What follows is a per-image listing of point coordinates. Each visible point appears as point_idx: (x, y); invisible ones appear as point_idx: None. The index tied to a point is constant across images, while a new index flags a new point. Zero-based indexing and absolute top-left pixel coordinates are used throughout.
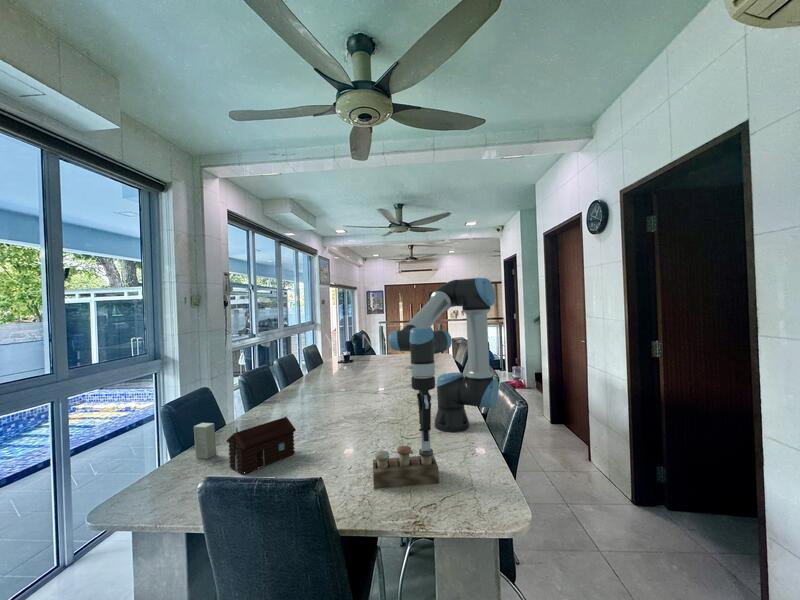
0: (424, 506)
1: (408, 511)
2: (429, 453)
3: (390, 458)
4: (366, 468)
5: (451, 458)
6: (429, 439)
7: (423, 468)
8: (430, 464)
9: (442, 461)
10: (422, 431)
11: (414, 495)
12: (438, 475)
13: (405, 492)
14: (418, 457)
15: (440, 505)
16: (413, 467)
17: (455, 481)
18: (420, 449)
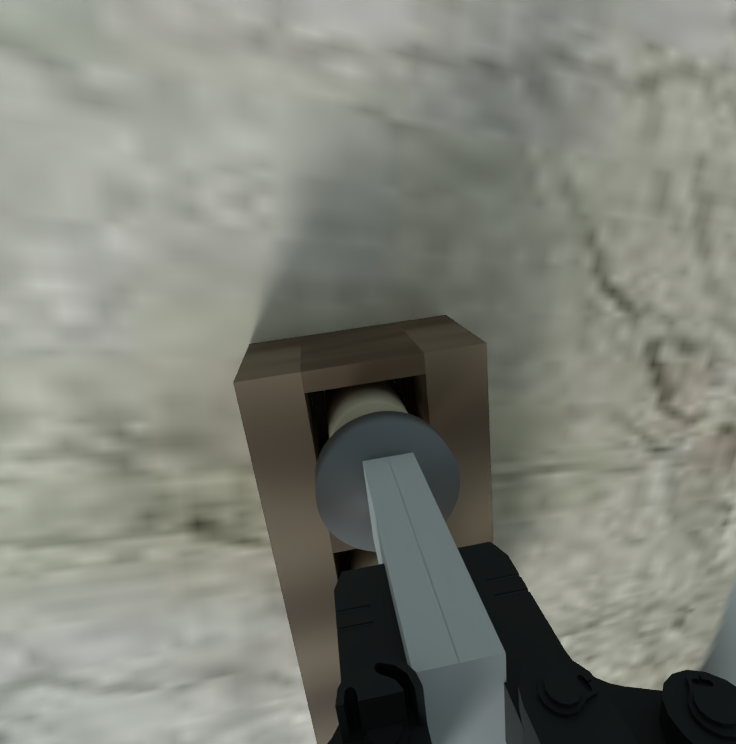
0: (664, 398)
1: (684, 468)
2: (452, 454)
3: (307, 678)
4: (242, 714)
5: (3, 179)
6: (448, 536)
7: (488, 455)
8: (429, 406)
9: (84, 270)
10: (502, 733)
11: (555, 451)
12: (464, 329)
13: (519, 497)
14: (291, 502)
15: (676, 317)
16: (466, 523)
17: (426, 195)
18: (361, 542)
